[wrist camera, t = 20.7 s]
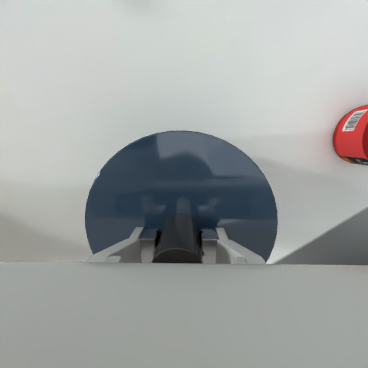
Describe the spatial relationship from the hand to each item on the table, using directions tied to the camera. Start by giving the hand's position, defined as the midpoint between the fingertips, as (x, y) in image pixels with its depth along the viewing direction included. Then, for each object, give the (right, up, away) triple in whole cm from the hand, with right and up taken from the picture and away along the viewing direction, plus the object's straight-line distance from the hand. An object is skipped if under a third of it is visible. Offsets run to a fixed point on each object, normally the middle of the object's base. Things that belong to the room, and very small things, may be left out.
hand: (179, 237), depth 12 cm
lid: (0, 0, +1) cm, 2 cm away
